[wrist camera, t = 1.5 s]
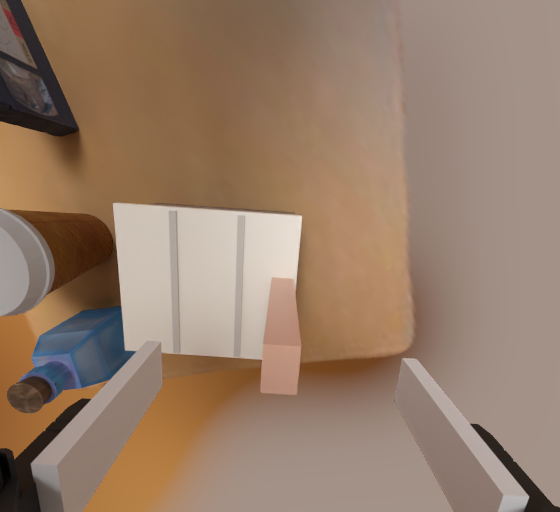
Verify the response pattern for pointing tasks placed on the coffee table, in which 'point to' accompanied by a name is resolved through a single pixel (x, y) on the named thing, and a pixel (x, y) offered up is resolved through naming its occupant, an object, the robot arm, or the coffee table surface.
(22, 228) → the disposable coffee cup
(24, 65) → the vhs cassette tape
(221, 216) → the lid
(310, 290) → the coffee table surface
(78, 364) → the perfume bottle
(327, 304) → the coffee table surface
